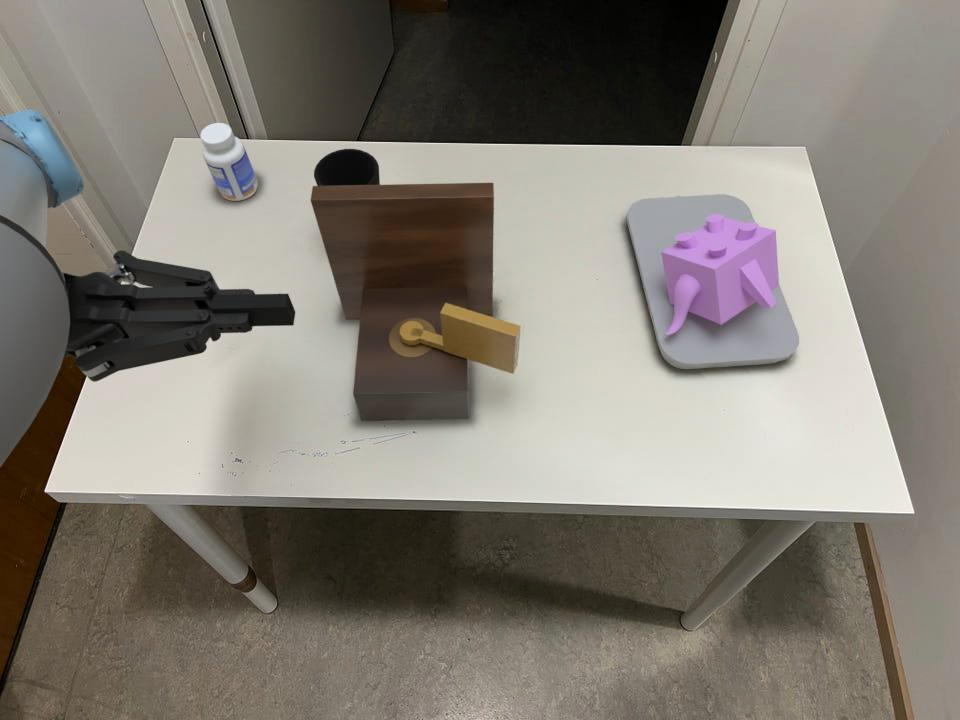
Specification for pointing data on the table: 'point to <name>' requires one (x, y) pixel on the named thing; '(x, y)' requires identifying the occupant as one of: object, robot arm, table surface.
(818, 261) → the table surface
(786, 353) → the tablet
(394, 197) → the case
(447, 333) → the lever
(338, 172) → the cup
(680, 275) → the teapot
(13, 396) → the robot arm
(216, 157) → the pill bottle
